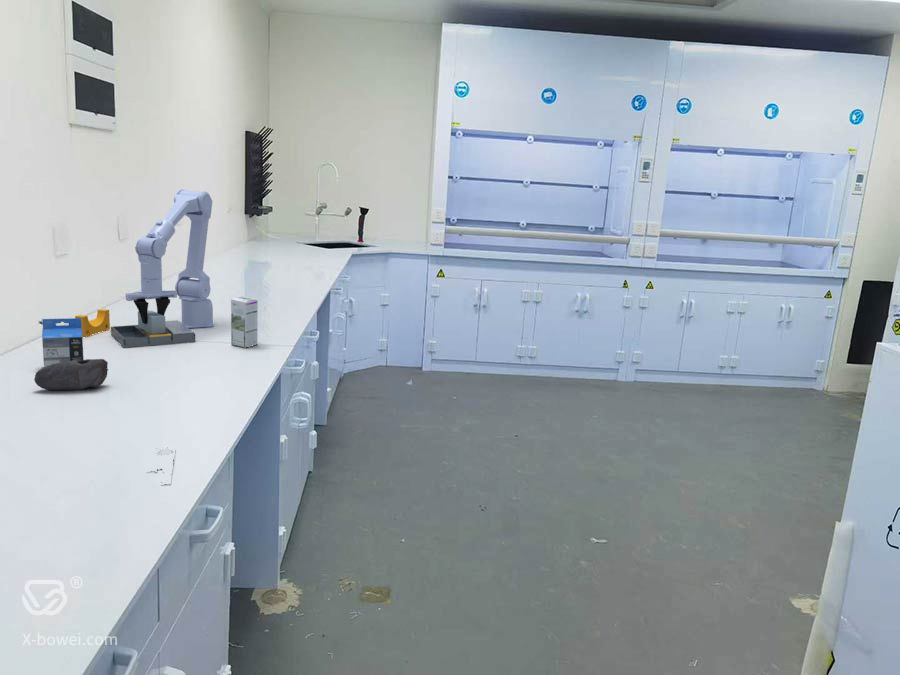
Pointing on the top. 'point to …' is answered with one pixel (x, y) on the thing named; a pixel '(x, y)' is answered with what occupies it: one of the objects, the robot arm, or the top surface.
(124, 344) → the grey compartment tray
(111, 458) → the top surface
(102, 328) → the pipe clamp
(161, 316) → the tall blue-grey block
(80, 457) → the top surface
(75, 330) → the ink cartridge box
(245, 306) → the syrup box
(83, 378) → the perforated stone tool
